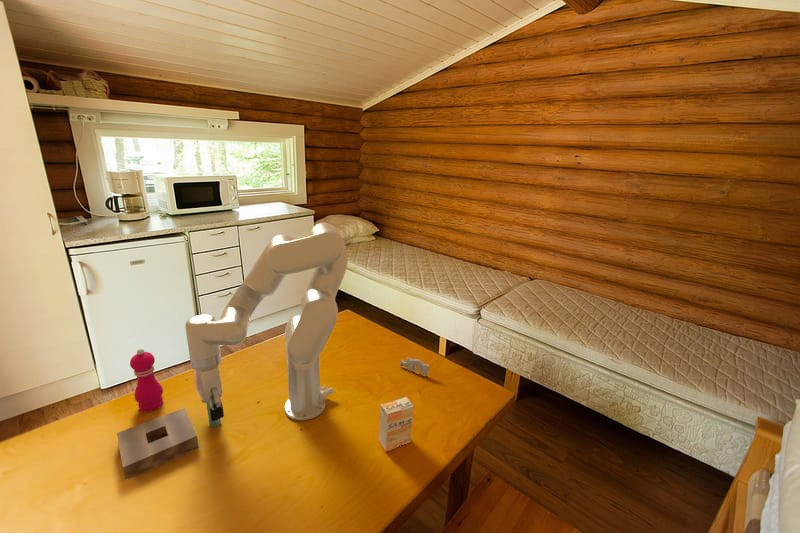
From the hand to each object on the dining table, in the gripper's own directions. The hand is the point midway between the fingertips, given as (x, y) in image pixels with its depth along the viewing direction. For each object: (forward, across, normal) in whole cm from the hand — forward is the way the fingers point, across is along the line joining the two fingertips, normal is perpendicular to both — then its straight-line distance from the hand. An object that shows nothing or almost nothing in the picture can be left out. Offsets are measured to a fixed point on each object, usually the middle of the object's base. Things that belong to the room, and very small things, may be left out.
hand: (212, 409), depth 104 cm
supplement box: (+5, +39, +37) cm, 54 cm away
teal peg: (+5, 0, 0) cm, 5 cm away
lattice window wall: (+5, +18, +65) cm, 68 cm away
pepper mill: (+5, -20, -13) cm, 24 cm away
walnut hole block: (+5, 0, -14) cm, 15 cm away
